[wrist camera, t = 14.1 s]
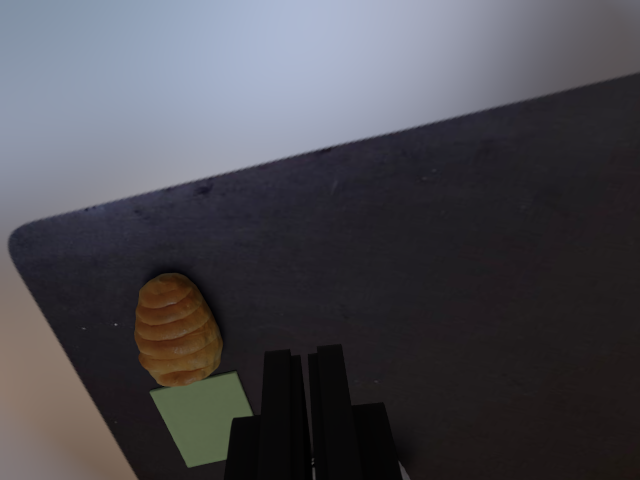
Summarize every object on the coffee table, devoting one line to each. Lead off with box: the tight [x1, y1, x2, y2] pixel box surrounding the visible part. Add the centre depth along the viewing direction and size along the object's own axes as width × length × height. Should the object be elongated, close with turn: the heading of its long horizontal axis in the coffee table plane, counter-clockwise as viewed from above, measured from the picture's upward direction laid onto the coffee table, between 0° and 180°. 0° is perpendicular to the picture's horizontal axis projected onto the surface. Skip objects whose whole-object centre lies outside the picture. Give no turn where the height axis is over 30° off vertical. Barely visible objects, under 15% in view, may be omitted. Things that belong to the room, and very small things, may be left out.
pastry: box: [134, 273, 223, 387], centre depth 40 cm, size 9×7×4 cm
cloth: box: [150, 371, 254, 468], centre depth 47 cm, size 10×8×1 cm
